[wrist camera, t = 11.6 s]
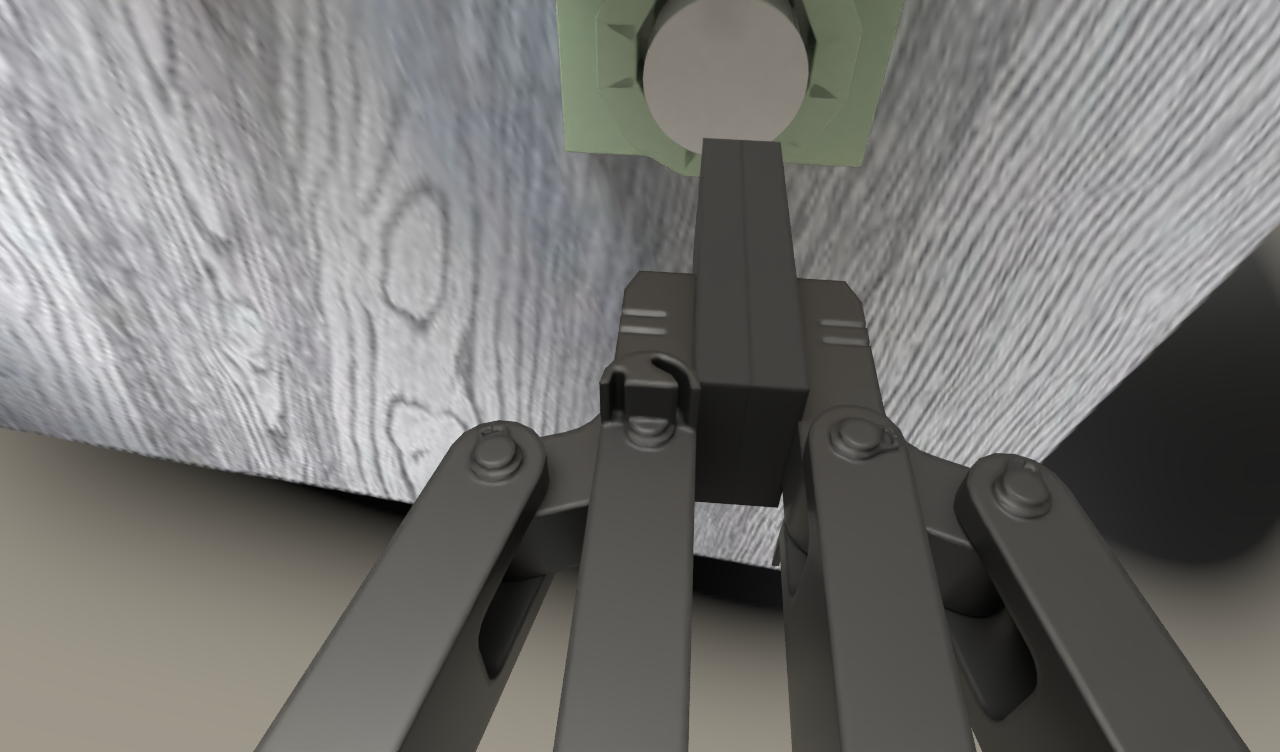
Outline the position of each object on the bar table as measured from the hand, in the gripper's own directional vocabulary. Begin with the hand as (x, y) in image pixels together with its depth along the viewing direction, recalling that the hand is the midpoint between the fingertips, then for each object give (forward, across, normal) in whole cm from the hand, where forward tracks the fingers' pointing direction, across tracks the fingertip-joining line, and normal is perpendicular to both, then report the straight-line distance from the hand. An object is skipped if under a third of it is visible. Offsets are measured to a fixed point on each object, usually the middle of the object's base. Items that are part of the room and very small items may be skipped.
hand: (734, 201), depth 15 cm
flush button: (+8, 0, 0) cm, 8 cm away
